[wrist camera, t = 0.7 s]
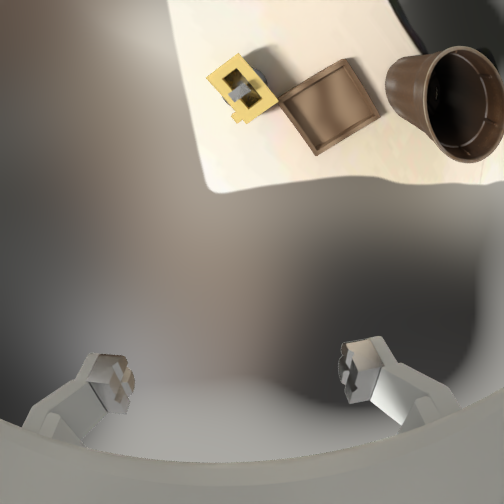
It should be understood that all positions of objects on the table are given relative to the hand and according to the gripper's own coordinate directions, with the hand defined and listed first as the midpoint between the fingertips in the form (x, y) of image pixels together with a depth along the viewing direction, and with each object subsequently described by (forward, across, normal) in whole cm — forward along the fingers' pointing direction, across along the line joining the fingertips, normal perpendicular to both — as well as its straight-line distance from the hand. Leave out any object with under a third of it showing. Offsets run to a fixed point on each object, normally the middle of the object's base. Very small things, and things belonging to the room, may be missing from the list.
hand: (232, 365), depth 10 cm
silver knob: (+39, -2, -15) cm, 42 cm away
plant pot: (+37, -31, -17) cm, 51 cm away
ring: (+37, -2, -15) cm, 40 cm away
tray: (+38, -15, -12) cm, 43 cm away
